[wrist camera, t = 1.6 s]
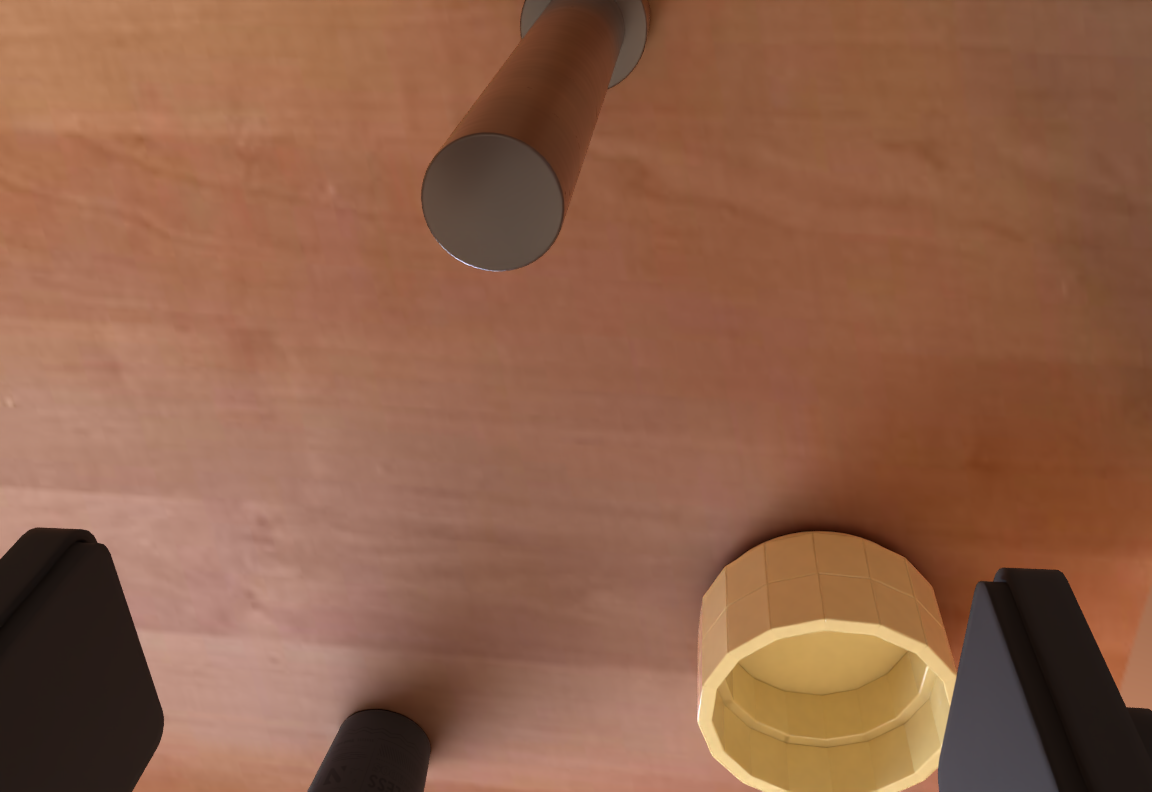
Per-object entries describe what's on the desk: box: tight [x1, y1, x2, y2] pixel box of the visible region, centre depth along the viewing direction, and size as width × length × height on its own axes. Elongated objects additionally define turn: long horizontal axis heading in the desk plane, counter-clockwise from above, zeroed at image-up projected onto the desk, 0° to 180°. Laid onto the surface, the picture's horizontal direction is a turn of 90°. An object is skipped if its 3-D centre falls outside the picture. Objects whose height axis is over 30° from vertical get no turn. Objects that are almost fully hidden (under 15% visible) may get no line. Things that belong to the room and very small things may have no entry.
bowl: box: [697, 531, 957, 792], centre depth 43 cm, size 10×10×6 cm
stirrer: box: [421, 0, 650, 271], centre depth 26 cm, size 4×4×18 cm
